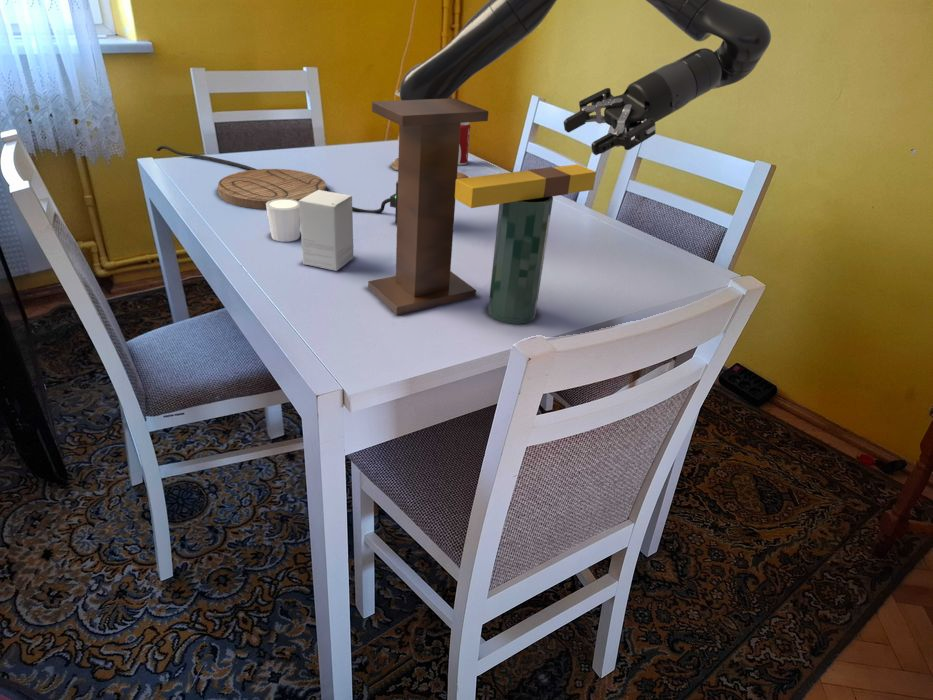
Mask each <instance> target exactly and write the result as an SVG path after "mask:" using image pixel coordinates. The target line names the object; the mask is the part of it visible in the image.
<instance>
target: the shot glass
mask: <svg viewBox="0 0 933 700" xmlns="http://www.w3.org/2000/svg"><path fill="white" fill-rule="evenodd" d="M266 208H267V209H266V214H267V219H268V222H269V223H268V225H269V230H270V235H271V239H273V240H274V241H277V242H282V243H283V242H285V243H286V242H289V243H290V242H294V241H297V240H299V238H301V224H300V210H299V202H298V201H296V200H293V199H275V200H271V201H268V202H267V203H266Z"/></svg>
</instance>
